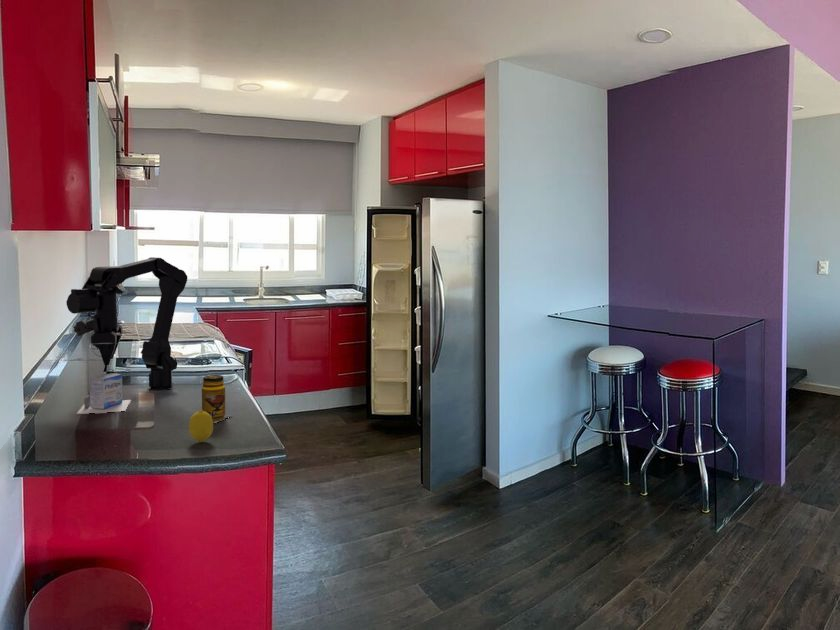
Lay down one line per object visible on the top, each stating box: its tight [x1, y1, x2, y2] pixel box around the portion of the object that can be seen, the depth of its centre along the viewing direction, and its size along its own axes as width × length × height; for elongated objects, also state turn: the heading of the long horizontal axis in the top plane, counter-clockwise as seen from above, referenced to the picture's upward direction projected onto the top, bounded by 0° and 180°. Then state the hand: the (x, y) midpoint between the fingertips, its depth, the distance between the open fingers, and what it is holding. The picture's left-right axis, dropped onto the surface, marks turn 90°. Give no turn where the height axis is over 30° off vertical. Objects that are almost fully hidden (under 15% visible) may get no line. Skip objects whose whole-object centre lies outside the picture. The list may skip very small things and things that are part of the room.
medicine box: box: [89, 373, 123, 409], centre depth 172 cm, size 8×4×9 cm, turn 169°
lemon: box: [188, 409, 214, 443], centre depth 145 cm, size 6×6×8 cm
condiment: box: [201, 374, 230, 422], centre depth 164 cm, size 7×8×12 cm
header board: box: [76, 394, 132, 415], centre depth 172 cm, size 12×12×3 cm
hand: (108, 361), depth 179 cm, fingers open, 9 cm apart
